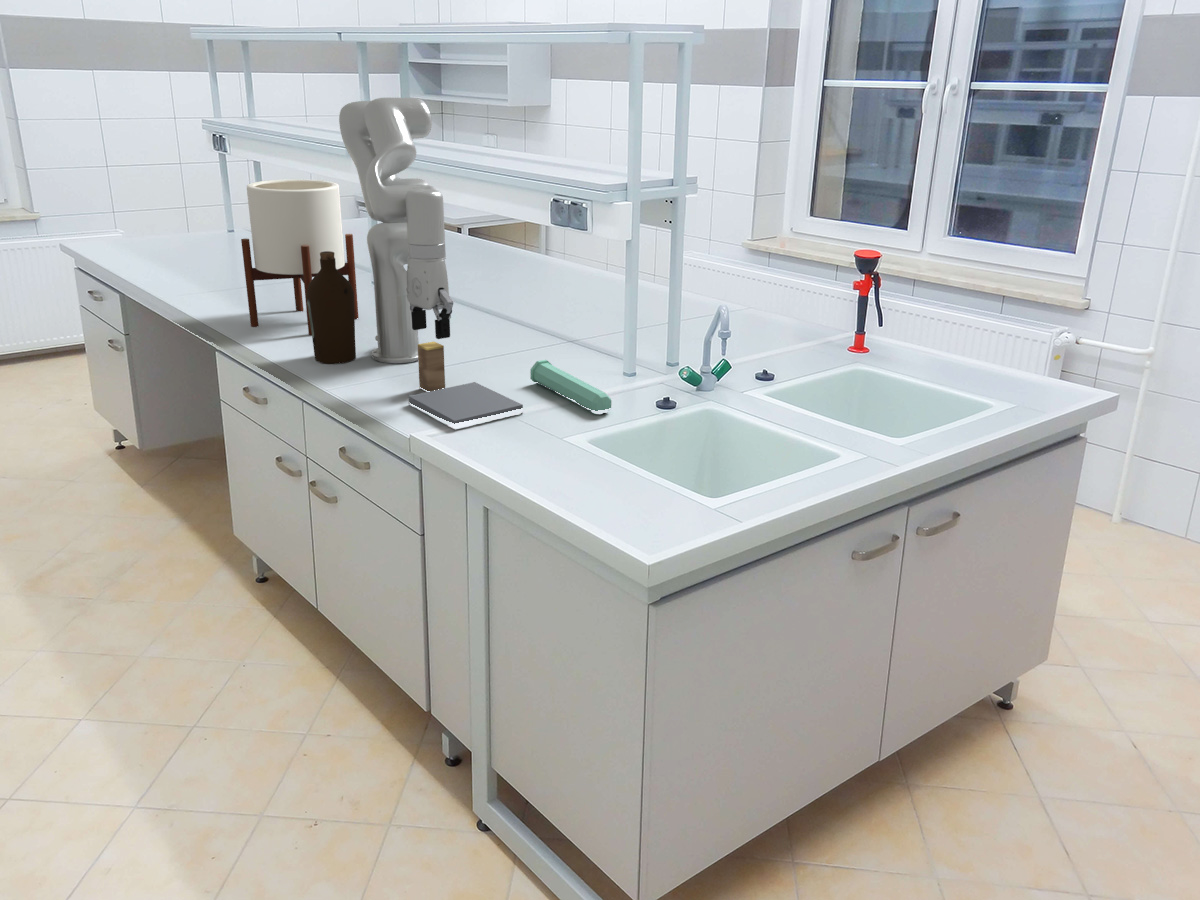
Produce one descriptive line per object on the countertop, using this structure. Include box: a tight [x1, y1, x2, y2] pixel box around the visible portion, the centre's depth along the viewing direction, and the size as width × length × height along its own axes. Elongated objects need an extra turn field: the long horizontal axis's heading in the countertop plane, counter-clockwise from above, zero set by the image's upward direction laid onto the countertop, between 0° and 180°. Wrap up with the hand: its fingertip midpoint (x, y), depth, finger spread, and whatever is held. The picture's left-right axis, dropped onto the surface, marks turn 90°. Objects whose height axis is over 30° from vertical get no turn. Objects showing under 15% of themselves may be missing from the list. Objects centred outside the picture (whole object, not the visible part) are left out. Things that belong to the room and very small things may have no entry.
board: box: [408, 381, 524, 424], centre depth 200 cm, size 18×16×2 cm
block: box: [418, 341, 446, 391], centre depth 209 cm, size 4×4×10 cm
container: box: [530, 359, 612, 411], centre depth 207 cm, size 6×6×25 cm
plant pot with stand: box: [240, 178, 359, 337], centre depth 253 cm, size 22×22×36 cm
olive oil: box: [307, 251, 357, 365], centre depth 226 cm, size 11×11×25 cm
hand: (431, 333), depth 206 cm, fingers open, 9 cm apart
